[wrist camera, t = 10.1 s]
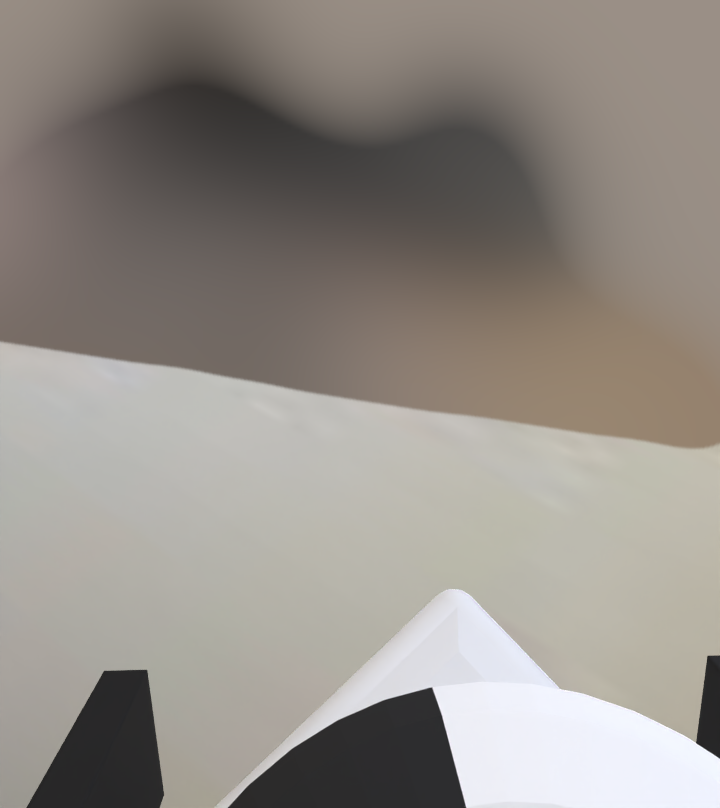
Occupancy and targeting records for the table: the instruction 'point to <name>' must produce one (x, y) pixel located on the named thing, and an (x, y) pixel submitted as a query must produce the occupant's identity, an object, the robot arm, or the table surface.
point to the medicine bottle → (474, 734)
